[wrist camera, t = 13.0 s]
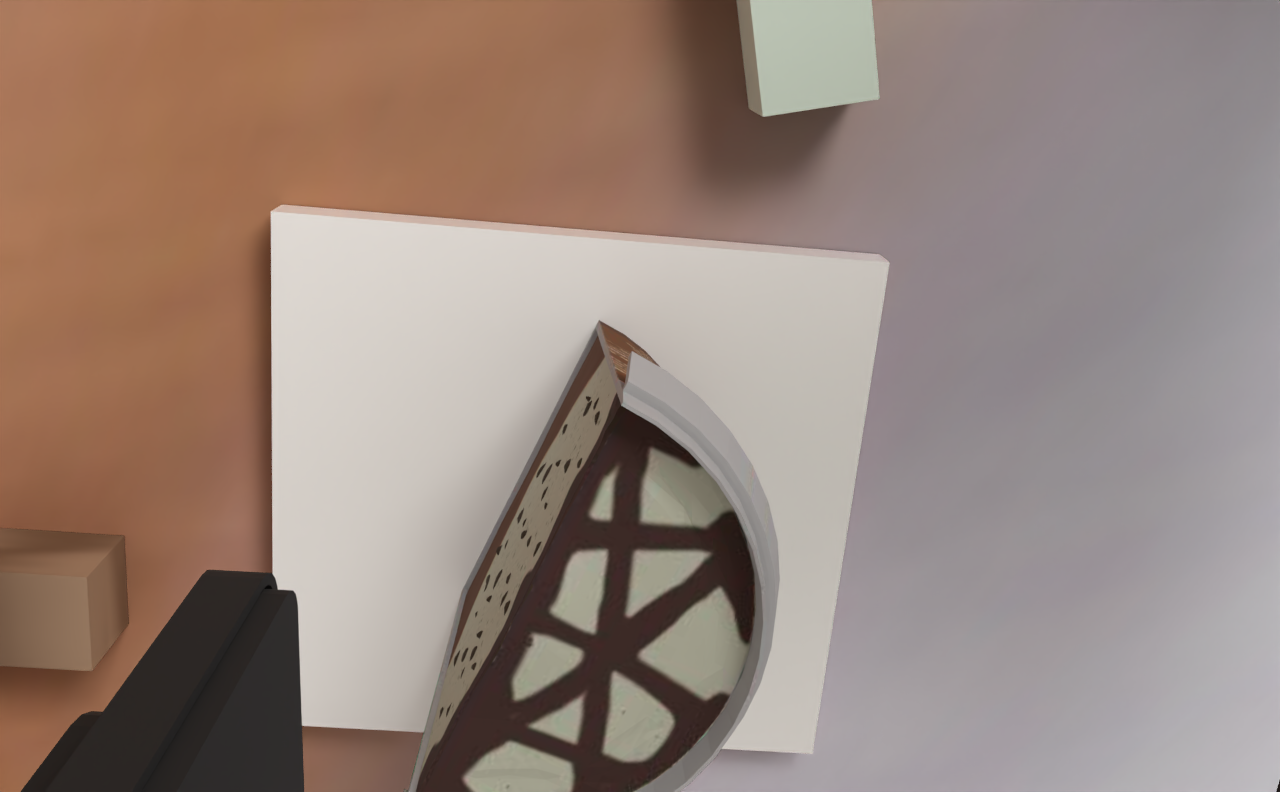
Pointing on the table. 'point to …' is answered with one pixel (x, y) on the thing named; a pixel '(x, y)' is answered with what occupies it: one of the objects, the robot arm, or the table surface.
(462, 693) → the food container
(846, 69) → the sage block
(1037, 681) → the table surface
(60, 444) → the table surface
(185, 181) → the table surface
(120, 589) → the walnut block
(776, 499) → the platter
